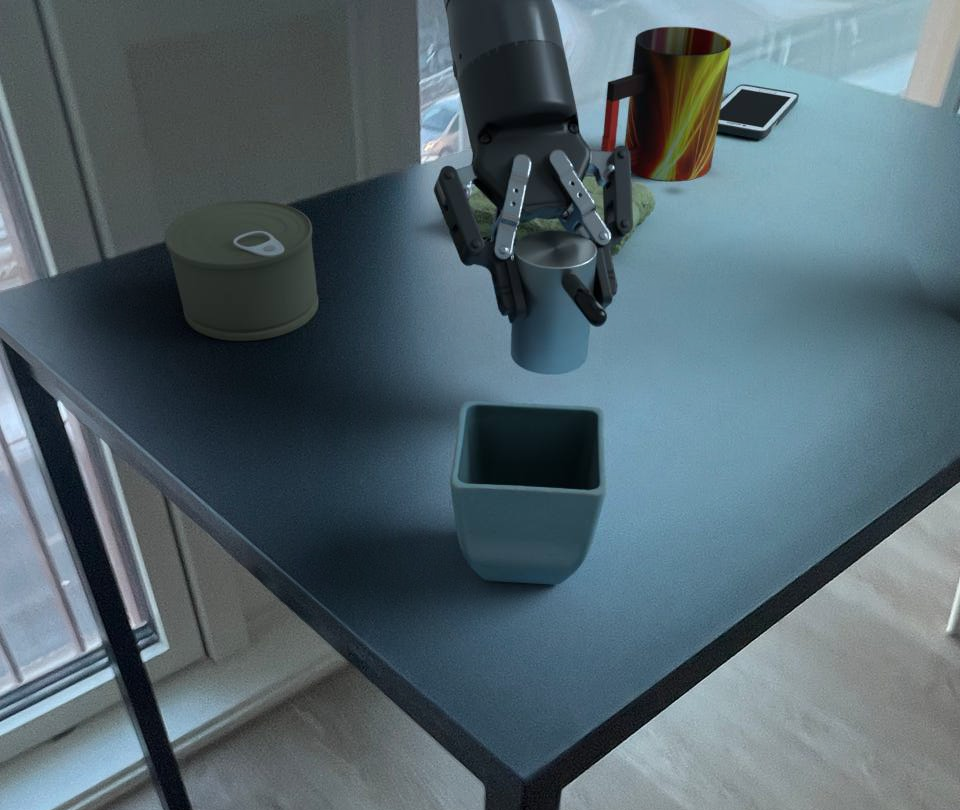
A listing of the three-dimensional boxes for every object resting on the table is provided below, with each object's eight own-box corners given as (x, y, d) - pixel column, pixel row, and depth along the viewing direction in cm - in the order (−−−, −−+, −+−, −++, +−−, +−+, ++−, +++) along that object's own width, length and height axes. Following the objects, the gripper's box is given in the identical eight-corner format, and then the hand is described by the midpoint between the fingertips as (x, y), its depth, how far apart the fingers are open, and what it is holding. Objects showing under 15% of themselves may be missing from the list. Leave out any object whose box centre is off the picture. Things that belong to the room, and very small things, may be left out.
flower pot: (591, 518, 68) (604, 404, 62) (593, 609, 62) (607, 493, 56) (462, 512, 69) (461, 398, 62) (451, 602, 62) (448, 486, 56)
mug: (596, 185, 106) (607, 60, 98) (638, 141, 115) (652, 21, 106) (685, 202, 104) (704, 74, 95) (721, 155, 112) (741, 34, 104)
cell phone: (799, 101, 124) (801, 93, 123) (764, 141, 115) (765, 132, 114) (738, 91, 126) (740, 82, 125) (699, 129, 117) (700, 120, 116)
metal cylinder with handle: (500, 341, 75) (502, 235, 69) (570, 329, 76) (579, 225, 70) (552, 423, 68) (560, 313, 62) (629, 409, 69) (644, 300, 63)
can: (269, 262, 94) (257, 187, 89) (348, 309, 88) (341, 231, 83) (155, 305, 88) (136, 228, 83) (232, 358, 82) (216, 278, 77)
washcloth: (497, 184, 107) (497, 152, 104) (657, 214, 102) (662, 181, 99) (444, 234, 98) (443, 201, 96) (615, 269, 93) (619, 235, 91)
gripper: (417, 45, 63) (473, 311, 64) (627, 25, 66) (679, 280, 67) (400, 106, 71) (451, 344, 71) (590, 86, 74) (637, 315, 75)
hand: (561, 312), depth 69 cm, fingers closed on metal cylinder with handle, 5 cm apart
